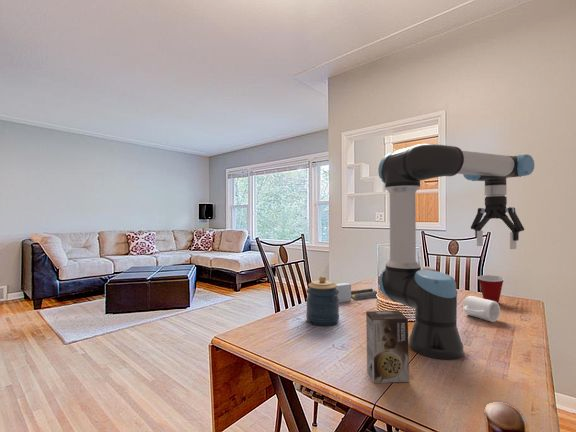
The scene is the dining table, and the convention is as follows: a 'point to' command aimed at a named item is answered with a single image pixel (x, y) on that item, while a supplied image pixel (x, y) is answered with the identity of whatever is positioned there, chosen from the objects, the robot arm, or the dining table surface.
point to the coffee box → (387, 346)
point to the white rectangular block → (344, 292)
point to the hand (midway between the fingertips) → (495, 247)
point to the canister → (322, 302)
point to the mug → (481, 308)
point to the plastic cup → (491, 287)
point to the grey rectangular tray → (363, 294)
